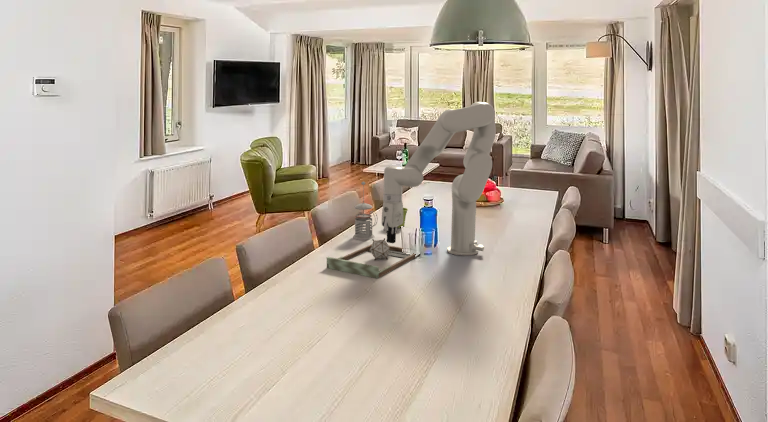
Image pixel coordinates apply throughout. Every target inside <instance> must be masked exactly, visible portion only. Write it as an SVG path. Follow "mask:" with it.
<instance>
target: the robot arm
mask: <svg viewBox="0 0 768 422" xmlns="http://www.w3.org/2000/svg"><path fill="white" fill-rule="evenodd" d="M495 116H496V111H495V108H494V107H493V105H492V104H490V103H488V102H483V101H475V102H474V103H473V102H472V104H471V105H470V106H465V107H461V108H456V109H453V108H450V109H446V110H444V111H443V112H442V113H441V114H440V116H439V117H438V119H437V120H436V122H435V123H434V124H433V126H432V127H431V129H430V131H429V132H428V133H427V135H426V136H425V138H424V139H423V141H422V142H421V143H420V145H418V148H417V149H416V150H415V151H414V152H413V154H412V155H411V157H410V158H409V159H408V161H407V162H406V164H405V166H404V167H403V168H402V167H401V166H395V165H392V166H389V165H388V166H386V167H385V168H384V169H383V170H384V171H383V195H382V196H383V197H382V201H383V203H382V208H381V210H382V211H381V226H382V227H383V231H386V232H385V233H386V243H387V244H388V243H389V244H395V243H396V241H397V240H396V238H397V234H396V233H397V230H398V228H397V227H398V226H399V225H401V224H402V223H403V208H404V204H403V203H404V202H403V187H410V188H415V187H418V186H420V185H421V184H422V183H423V181H424V174H423V172H424V171H425V170H426V168H427V167H428V165H429V164H430V163H431V162H432V160H434V158H437V157H438V156H439V155H441V154H442V153H443V152H444V150H445V148H446V147H447V146H448V144H449V143H450V141H451V139H452V138H453V137H454V135H455V134H456V133H461V132H466V131H470V130H473V133H472V137H471V140H470V143H469V145H468V148H467V150H466V152H465V155H464V156H463V167H464V168H465V169H464V172H463V174H459V175H457V176H456V177H455V178H454V179H453V181H452V184H451V199H452V200H451V203H452V204H451V206H452V207H451V230H450V231H451V232H450V233H451V234H450V245H449V246H447V248H446V252H447V253H448V254H451V255H454V256H461V257H462V256H463V257H464V256H465V257H467V256H468V257H469V256H473V255H474V256H475V255H477V254H478V253H479V252H484V250H485V247H484V245H483V244H478V240H475V239H476V219H477V217H476V215H477V201H478V200H479V199H480V198H481V196H482V194H483V192H484V190H485V188H486V185H487V182H488V180H489V178H490V176H491V172H492V169H493V160H492V157H491V155H490V154H491V152H492V148H493V145H494V142H495V139H496V135H497V133H496V132H497V127H496V126H497V125H496V121H495Z"/></svg>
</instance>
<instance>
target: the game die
mask: <svg viewBox="0 0 768 422" xmlns="http://www.w3.org/2000/svg"><path fill="white" fill-rule="evenodd" d="M371 240H372V243H371V244H372V246H371V248H370V250H368V251H370V252H369V253H371V255H372V256H373V257H374V261H376V260H378V259H386V260H388V252H389V250H390V248H392V247H389V244H388V242H387V240H386V237H385V238H383V239H374V238H372V239H371Z"/></svg>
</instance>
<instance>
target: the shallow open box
mask: <svg viewBox="0 0 768 422" xmlns="http://www.w3.org/2000/svg"><path fill="white" fill-rule="evenodd" d="M388 245H389V244H388ZM371 246H372V243H371V244H369V245H367V246H364V247H362V248H360V249H358V250H355V251H353V252H351V253H349V254H348V253H347V254H346V255H344V256H340V257H337V258H336V257H330V256H327V257H326V268H327V269H330V270H336V271H341V272H345V273H349V274H354V275H359V276H364V277H368V278H372V277H373V279H379V278H381V277H383V276H384V275H386V274H388V273H390V272H391V271H393V270H395V269H397V268H399V267H401V266H403V265H405V264H406V263H409V262H410V261H412V260H414V259H416V258H415V255H416V254H414V253H413V254H412V255H410V254H406V253H403V252H402V249H403V248H404V247H401V246H400V247H399V246H395V245H394V246H393V245H389V247H392V248H390V250H389V252H388V255H387V257H388V256H390V257H395V258H400V260H399V261H397V262H395V263H393V264H390V265H387V266H386V267H384V268H382V269H380V267H379V266H378V265H377V266H376V265H373V264H367V263H362V262H356V261H353V260H352V261H351V259H352V258H355V257H357V256H359V255H361V254H363V253H366V252H368V253H371V252H370V251H368V250H370V248H371Z"/></svg>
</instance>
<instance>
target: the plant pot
mask: <svg viewBox="0 0 768 422" xmlns="http://www.w3.org/2000/svg"><path fill="white" fill-rule="evenodd" d="M408 211H409V209H408V208H407V207H403V223H402V224H401V225H399V226H398V227H397V229H401V228H400V227H401V226H404V227H405V223H406V216H407V212H408Z"/></svg>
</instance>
